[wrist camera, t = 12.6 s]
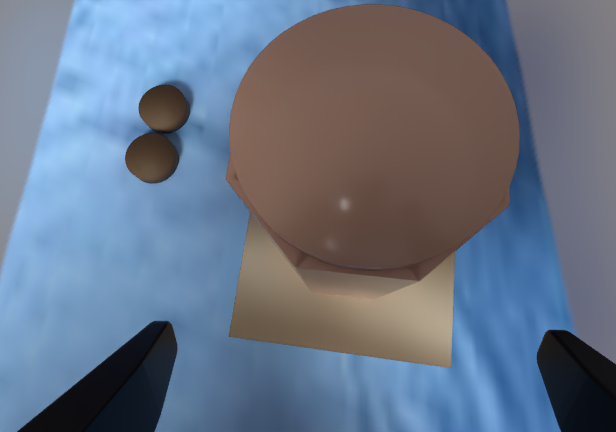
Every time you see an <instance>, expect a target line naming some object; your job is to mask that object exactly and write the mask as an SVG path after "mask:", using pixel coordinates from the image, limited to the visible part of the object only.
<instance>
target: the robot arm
mask: <svg viewBox="0 0 616 432" xmlns="http://www.w3.org/2000/svg"><path fill="white" fill-rule="evenodd" d="M176 355H177V342H176V338H175V334H174V331H173V327H172V324H171V323H170V322H169V321H153V322H151V323H150V324H149V325H147V326H146V327H145V328H144V329H143V330H141V331H140V332H139V333H138V334H136V335H135V336H134V337H133V338H132V339H130V340H129V341H128V342H127V343H125V344H124V345H123V346H122V347H120V348H119V349H118V350H117V351H116V352H114V353H113V354H112V355H111V356H109V357H108V358H107V359H106V360H104V361H103V362H102V363H101V364H100V365H98V366H97V367H96V368H95V369H93V370H92V371H91V372H90V373H89V374H87V375H86V376H85V377H84V378H82V379H81V380H80V381H79V382H77V383H76V384H75V385H74V386H73V387H71V388H70V389H69V390H68V391H66V392H65V393H64V394H63V395H61V396H60V397H59V398H58V399H57V400H55V401H54V402H53V403H52V404H50V405H49V406H48V407H47V408H46V409H44V410H43V411H42V412H41V413H39V414H38V415H37V416H36V417H34V418H33V419H32V420H31V421H30V422H28V423H27V424H26V425H25V426H23V427H22V428H21V429H20V430H18V431H17V432H154V431H155V429H156V426H157V423H158V420H159V418H160V415H161V411H162V408H163V404H164V401H165V397H166V393H167V389H168V385H169V381H170V378H171V374H172V370H173V366H174V362H175V358H176ZM537 363H538V367H539V370H540V373H541V376H542V378H543V381H544V384H545V387H546V390H547V393H548V396H549V399H550V402H551V405H552V408H553V411H554V414H555V417H556V420H557V422H558V425H559V428H560V430H561V432H616V364H615V363H613V362H612V361H610V360H609V359H607V358H606V357H605V356H603V355H602V354H600V353H599V352H597V351H596V350H594V349H593V348H592V347H590V346H589V345H587V344H586V343H585V342H583V341H582V340H580V339H579V338H577V337H576V336H575V335H573V334H572V333H570V332H569V331H566V330H548V331H547V332H546V333H545V335H544V337H543V340H542V342H541V345H540V347H539V350H538V352H537Z"/></svg>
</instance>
